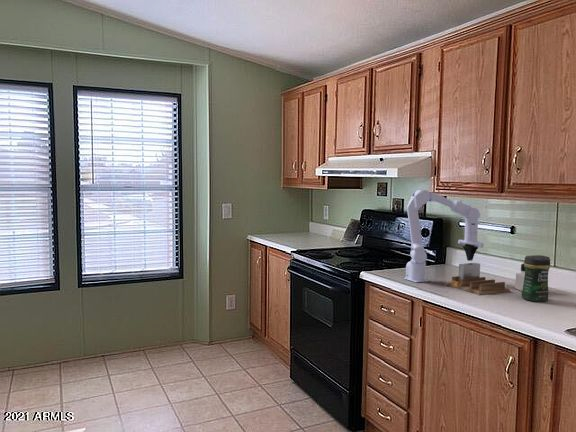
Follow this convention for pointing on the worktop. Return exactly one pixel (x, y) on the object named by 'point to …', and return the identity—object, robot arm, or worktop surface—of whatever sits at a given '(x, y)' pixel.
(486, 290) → the slot rack
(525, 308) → the worktop surface
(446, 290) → the worktop surface
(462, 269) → the grey brushed metal block
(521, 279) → the medicine bottle
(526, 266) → the coffee jar
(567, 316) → the worktop surface
